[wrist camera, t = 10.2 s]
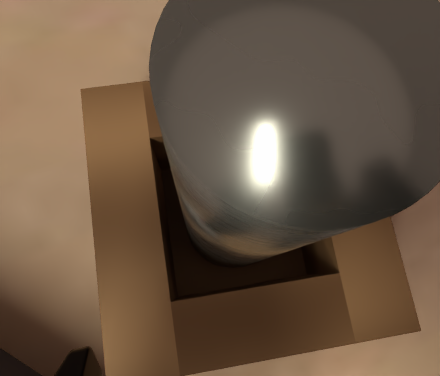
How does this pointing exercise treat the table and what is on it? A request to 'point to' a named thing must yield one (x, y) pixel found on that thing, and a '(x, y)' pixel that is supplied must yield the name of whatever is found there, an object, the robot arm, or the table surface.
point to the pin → (295, 117)
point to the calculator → (14, 366)
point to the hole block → (216, 266)
